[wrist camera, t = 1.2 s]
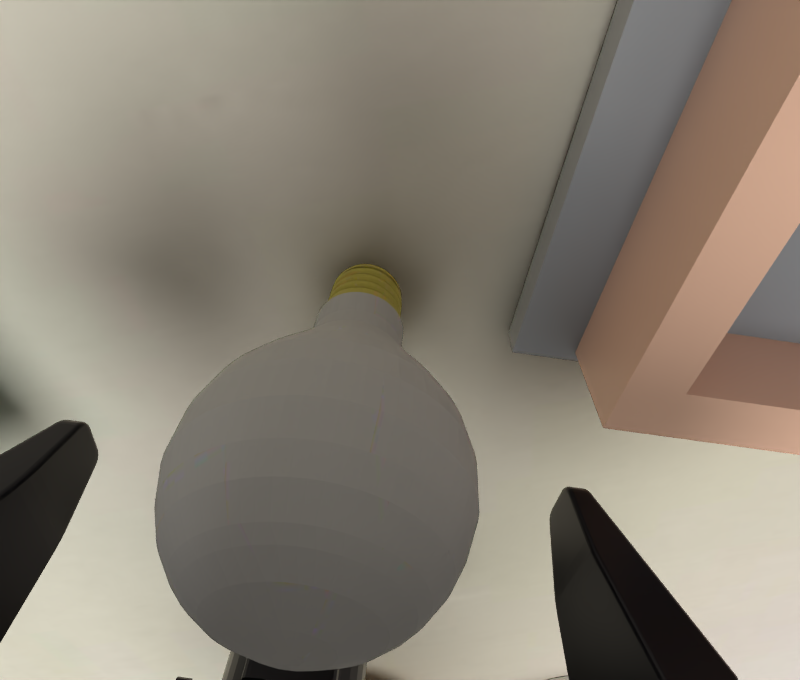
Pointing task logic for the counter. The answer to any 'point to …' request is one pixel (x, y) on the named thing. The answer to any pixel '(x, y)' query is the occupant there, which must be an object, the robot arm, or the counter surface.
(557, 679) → the coffee cup
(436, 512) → the light bulb
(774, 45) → the socket stand
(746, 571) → the counter surface
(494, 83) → the counter surface
